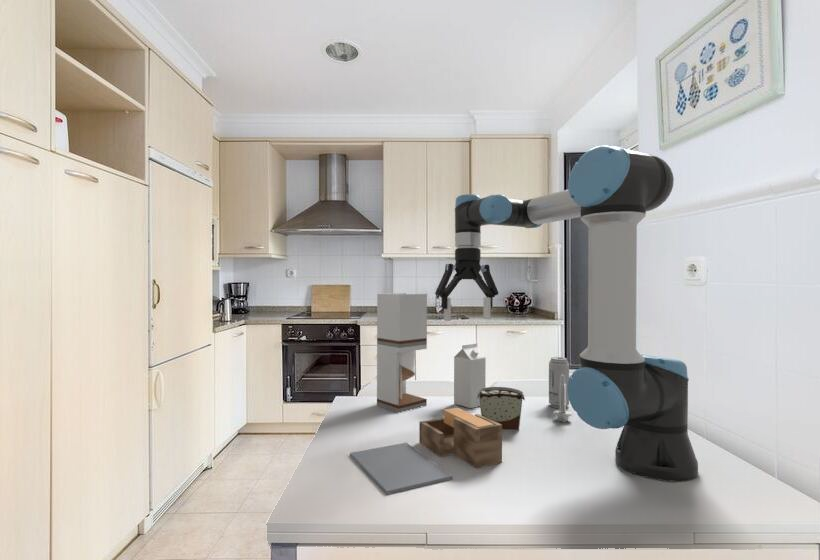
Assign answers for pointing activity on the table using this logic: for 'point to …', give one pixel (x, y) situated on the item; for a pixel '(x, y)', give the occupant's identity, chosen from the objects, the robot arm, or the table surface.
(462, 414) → the tan wooden beam
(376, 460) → the mat
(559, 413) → the screw
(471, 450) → the pocket block
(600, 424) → the robot arm
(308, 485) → the table surface
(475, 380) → the milk carton
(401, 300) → the white cabinet tower
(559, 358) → the energy drink can
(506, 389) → the food container
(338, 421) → the table surface
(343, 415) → the table surface
